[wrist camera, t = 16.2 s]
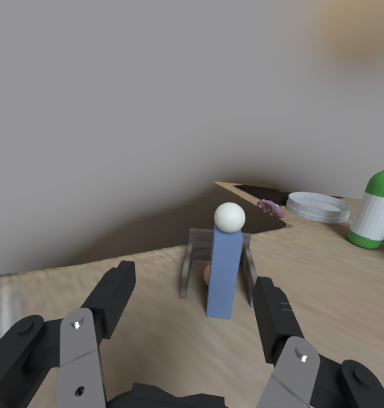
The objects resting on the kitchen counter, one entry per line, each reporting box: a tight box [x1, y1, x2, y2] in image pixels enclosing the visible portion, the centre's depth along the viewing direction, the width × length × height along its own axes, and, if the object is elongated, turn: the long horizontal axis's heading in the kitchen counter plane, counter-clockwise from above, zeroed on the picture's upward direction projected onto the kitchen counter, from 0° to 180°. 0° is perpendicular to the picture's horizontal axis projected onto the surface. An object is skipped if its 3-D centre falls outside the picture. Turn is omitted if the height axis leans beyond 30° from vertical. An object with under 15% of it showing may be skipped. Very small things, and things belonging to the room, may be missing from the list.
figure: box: [206, 203, 245, 319], centre depth 31 cm, size 4×4×20 cm
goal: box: [180, 228, 258, 307], centre depth 40 cm, size 13×14×8 cm
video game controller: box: [257, 199, 285, 218], centre depth 73 cm, size 10×5×7 cm, turn 32°
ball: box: [203, 264, 210, 285], centre depth 39 cm, size 5×5×5 cm
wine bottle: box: [347, 170, 384, 249], centre depth 52 cm, size 8×8×30 cm
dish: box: [286, 192, 352, 224], centre depth 79 cm, size 22×22×5 cm
